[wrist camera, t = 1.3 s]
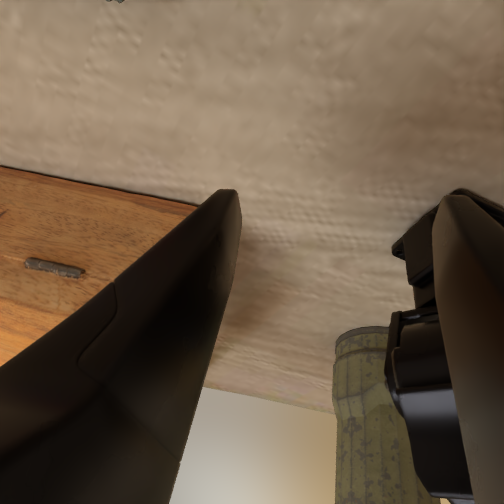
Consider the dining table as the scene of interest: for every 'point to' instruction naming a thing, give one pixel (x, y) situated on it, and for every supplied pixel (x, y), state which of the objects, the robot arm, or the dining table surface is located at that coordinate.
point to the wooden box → (66, 248)
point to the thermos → (370, 427)
